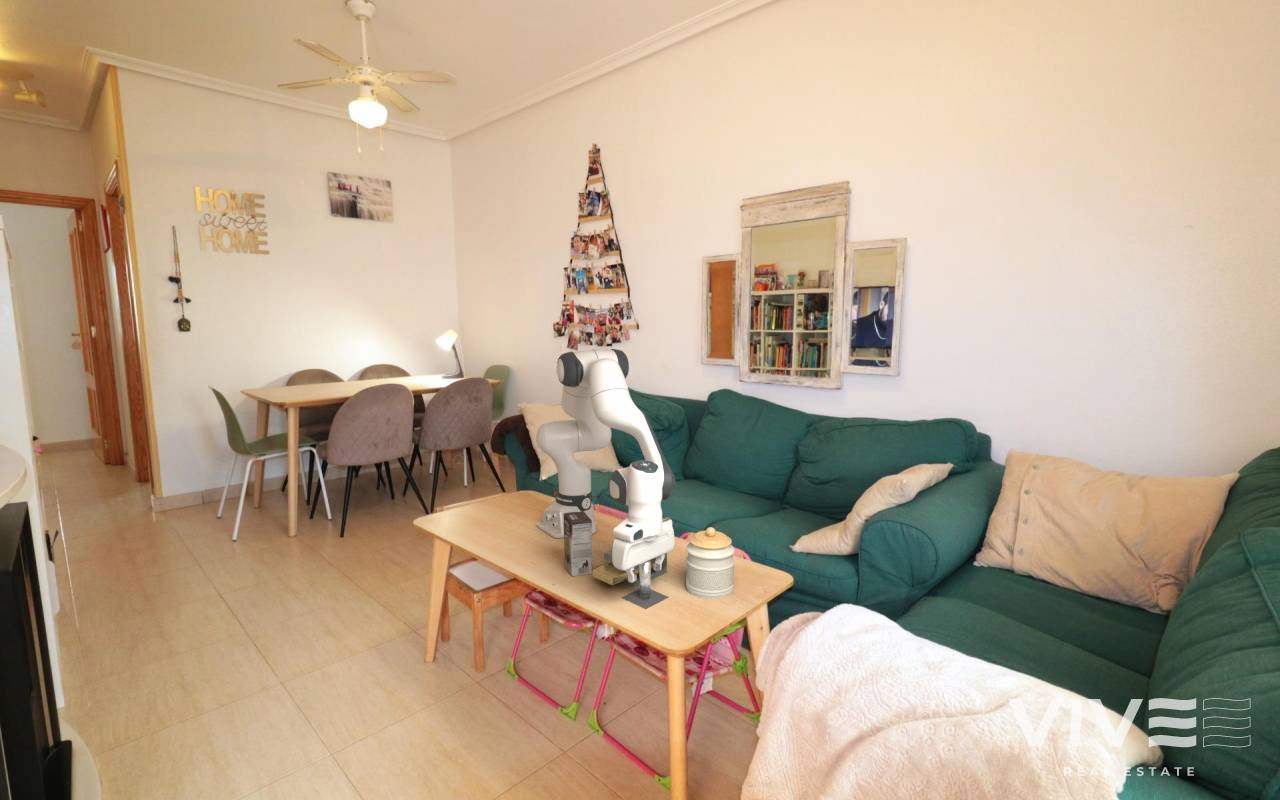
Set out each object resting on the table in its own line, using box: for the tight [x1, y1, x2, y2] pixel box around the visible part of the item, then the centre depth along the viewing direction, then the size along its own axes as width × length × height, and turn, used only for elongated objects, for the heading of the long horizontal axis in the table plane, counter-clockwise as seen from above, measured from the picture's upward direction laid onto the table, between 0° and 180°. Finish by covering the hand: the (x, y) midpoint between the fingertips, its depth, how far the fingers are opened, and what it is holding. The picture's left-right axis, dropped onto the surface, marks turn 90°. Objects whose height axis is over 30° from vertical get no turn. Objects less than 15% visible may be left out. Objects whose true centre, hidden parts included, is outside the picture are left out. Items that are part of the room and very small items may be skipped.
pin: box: [638, 560, 652, 600], centre depth 153 cm, size 3×3×10 cm
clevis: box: [592, 549, 668, 589], centre depth 166 cm, size 12×20×7 cm, turn 136°
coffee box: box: [563, 511, 593, 577], centre depth 171 cm, size 9×6×16 cm
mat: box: [620, 588, 670, 610], centre depth 154 cm, size 9×9×1 cm
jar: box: [685, 526, 736, 600], centre depth 158 cm, size 13×13×18 cm
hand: (645, 575), depth 153 cm, fingers open, 8 cm apart
